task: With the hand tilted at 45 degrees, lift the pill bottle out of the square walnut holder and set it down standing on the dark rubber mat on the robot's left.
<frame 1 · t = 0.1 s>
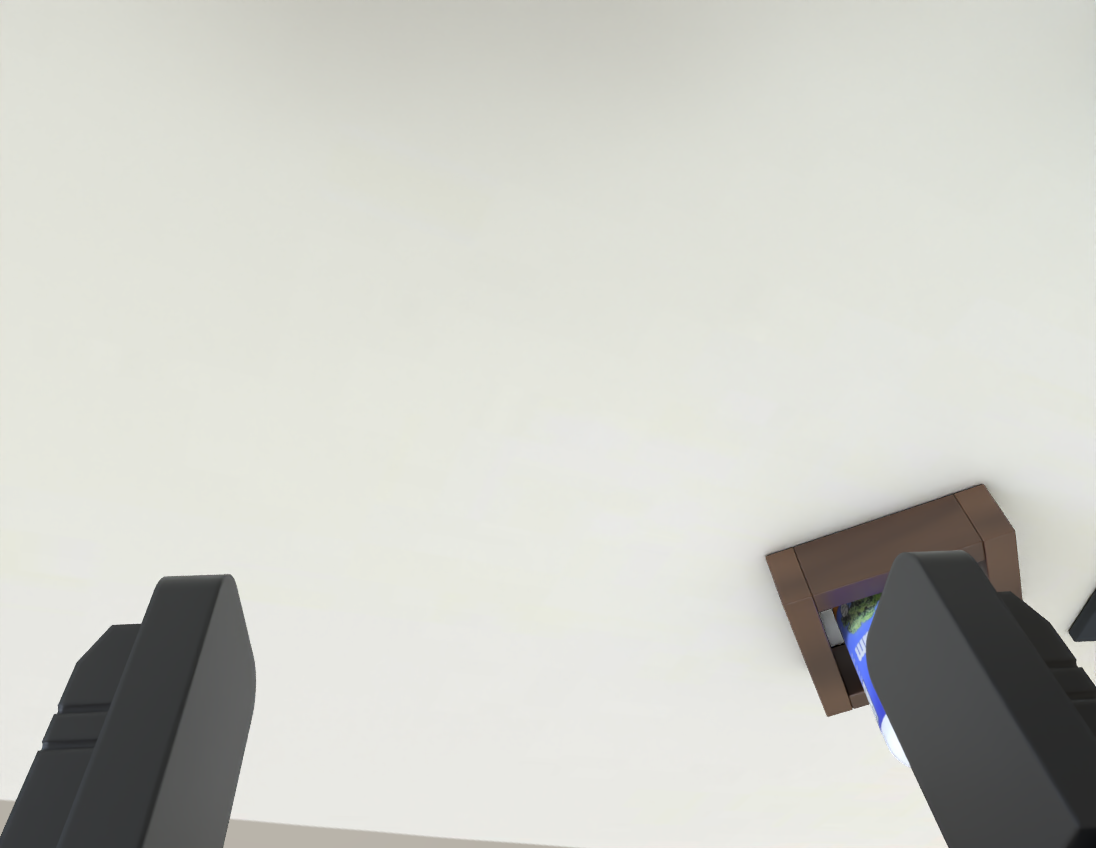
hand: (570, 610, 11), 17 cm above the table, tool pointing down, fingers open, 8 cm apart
pill bottle: (886, 581, 39), resting in walnut holder
walnut holder: (888, 584, 39), on the table
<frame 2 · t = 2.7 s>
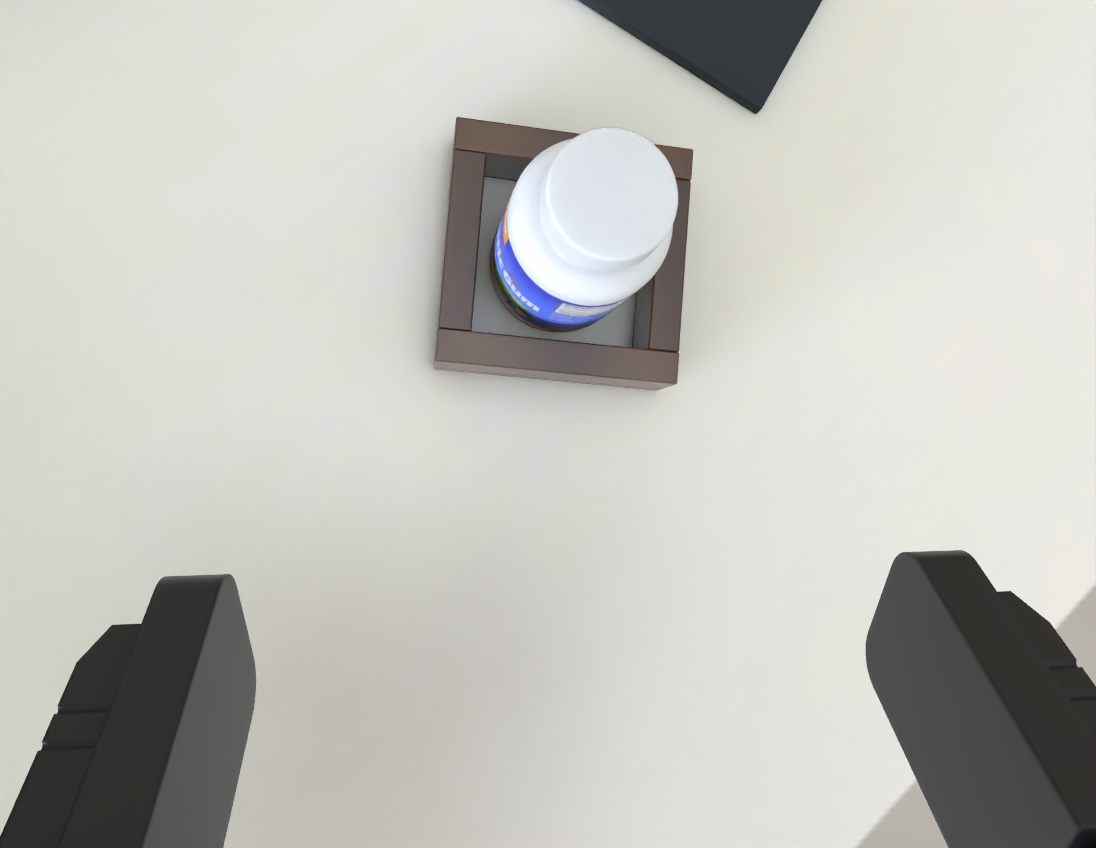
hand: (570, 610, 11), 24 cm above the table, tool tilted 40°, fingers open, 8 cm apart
pill bottle: (555, 268, 35), resting in walnut holder
walnut holder: (556, 267, 35), on the table
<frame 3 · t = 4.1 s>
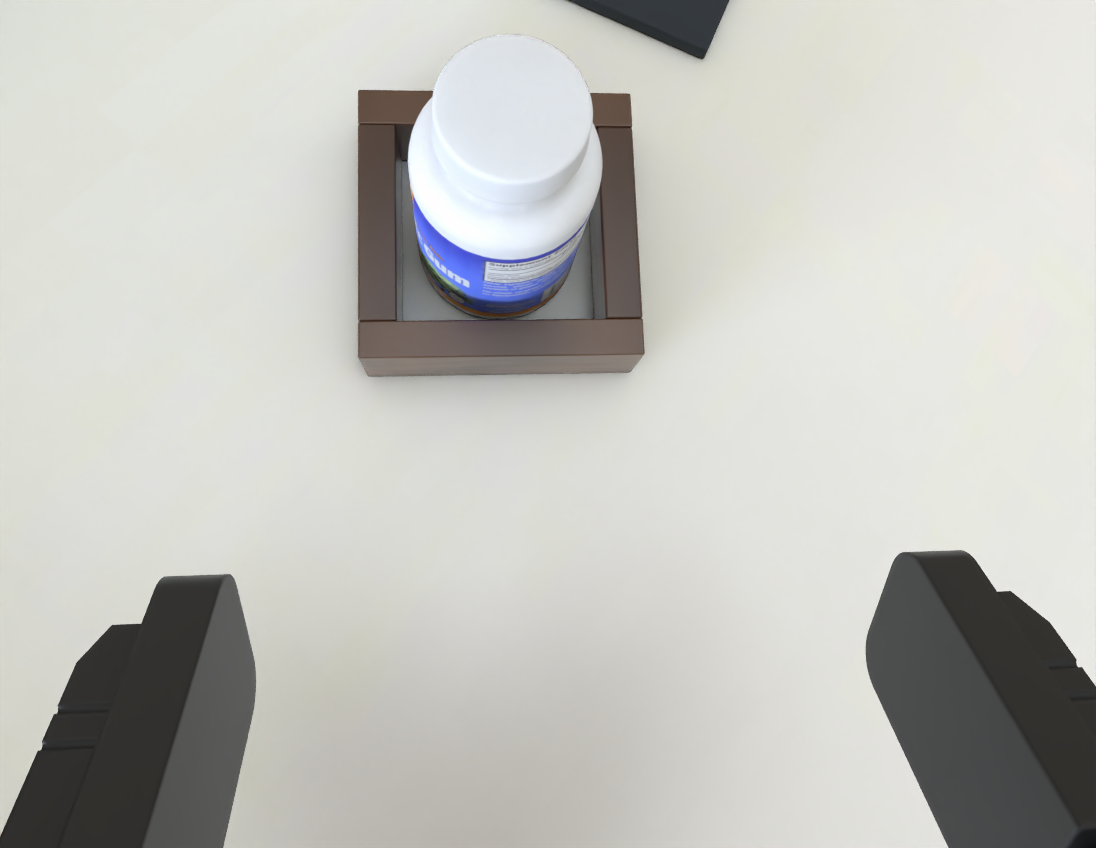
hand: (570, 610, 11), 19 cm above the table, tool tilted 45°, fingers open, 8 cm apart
pill bottle: (497, 251, 31), resting in walnut holder
walnut holder: (497, 249, 31), on the table
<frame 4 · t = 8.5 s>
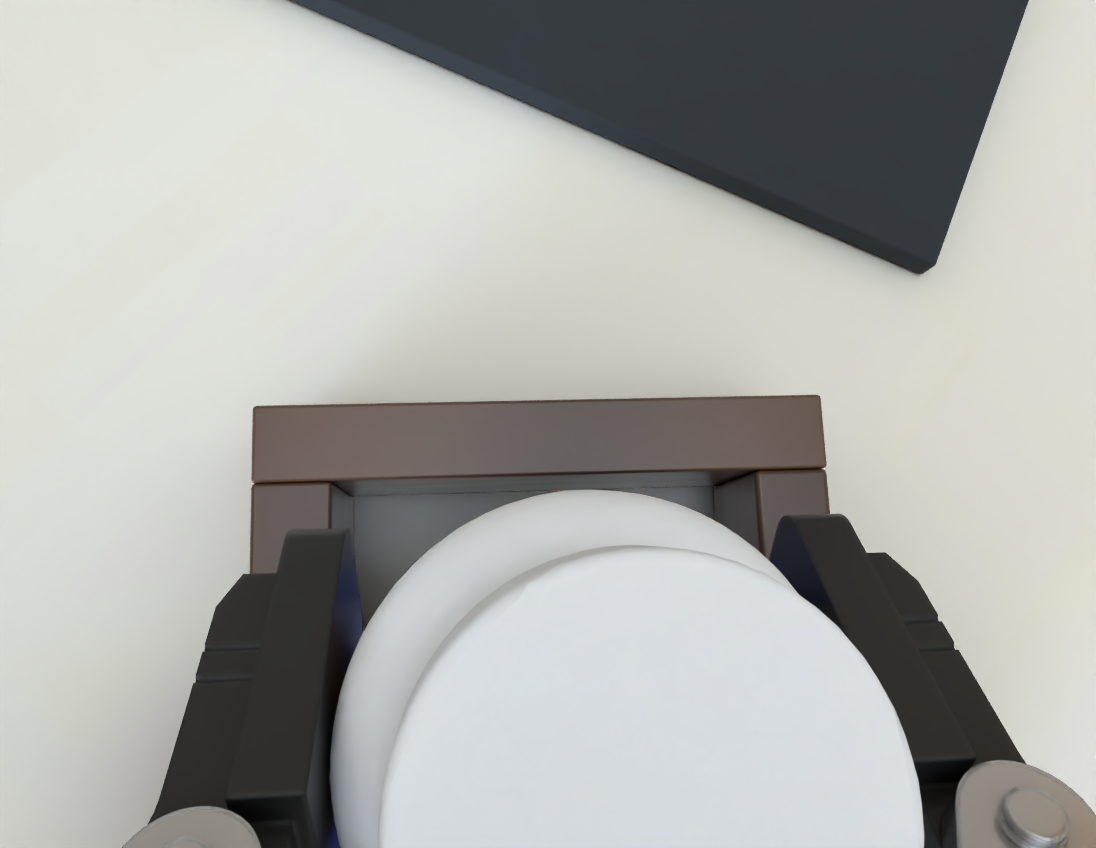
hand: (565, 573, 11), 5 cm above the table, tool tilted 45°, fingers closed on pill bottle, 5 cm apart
pill bottle: (541, 675, 16), resting in walnut holder, touching gripper
walnut holder: (542, 676, 16), on the table
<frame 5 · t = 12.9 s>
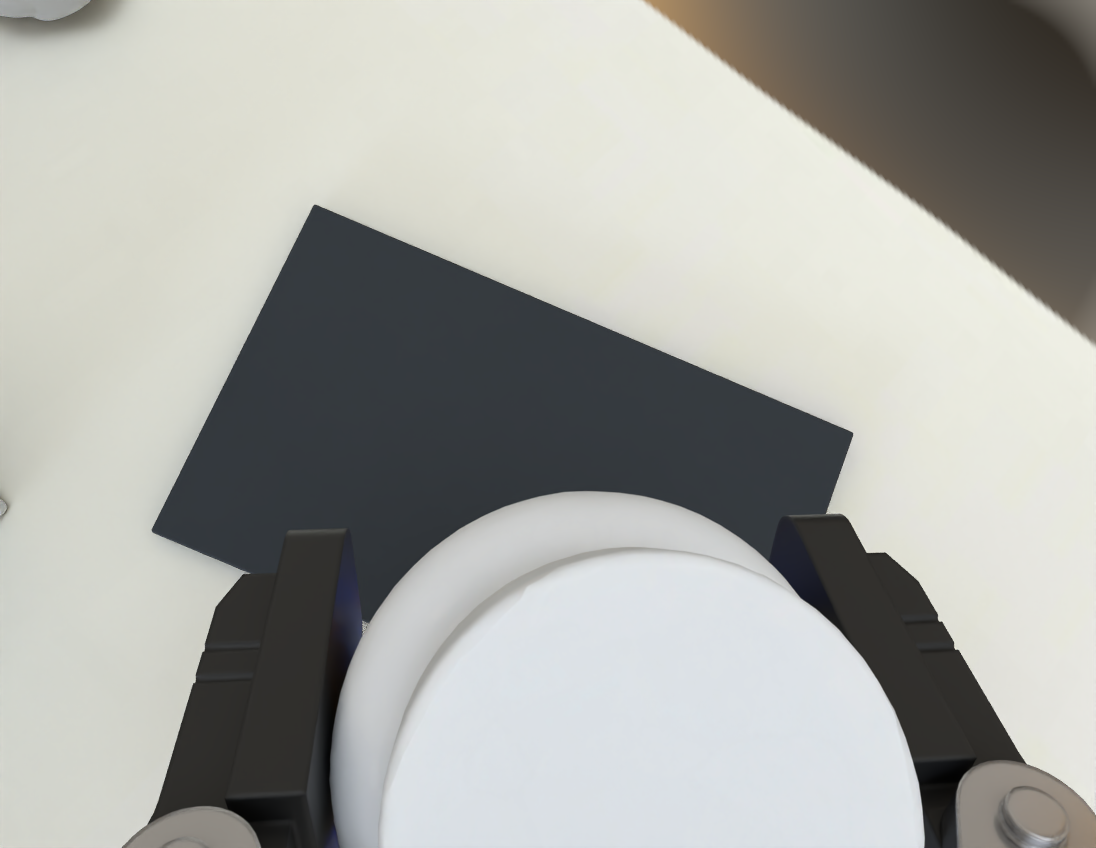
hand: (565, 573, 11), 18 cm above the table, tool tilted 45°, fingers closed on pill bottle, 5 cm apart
pill bottle: (541, 676, 16), point 13 cm above the table, touching gripper
rubber mat: (516, 481, 30), on the table
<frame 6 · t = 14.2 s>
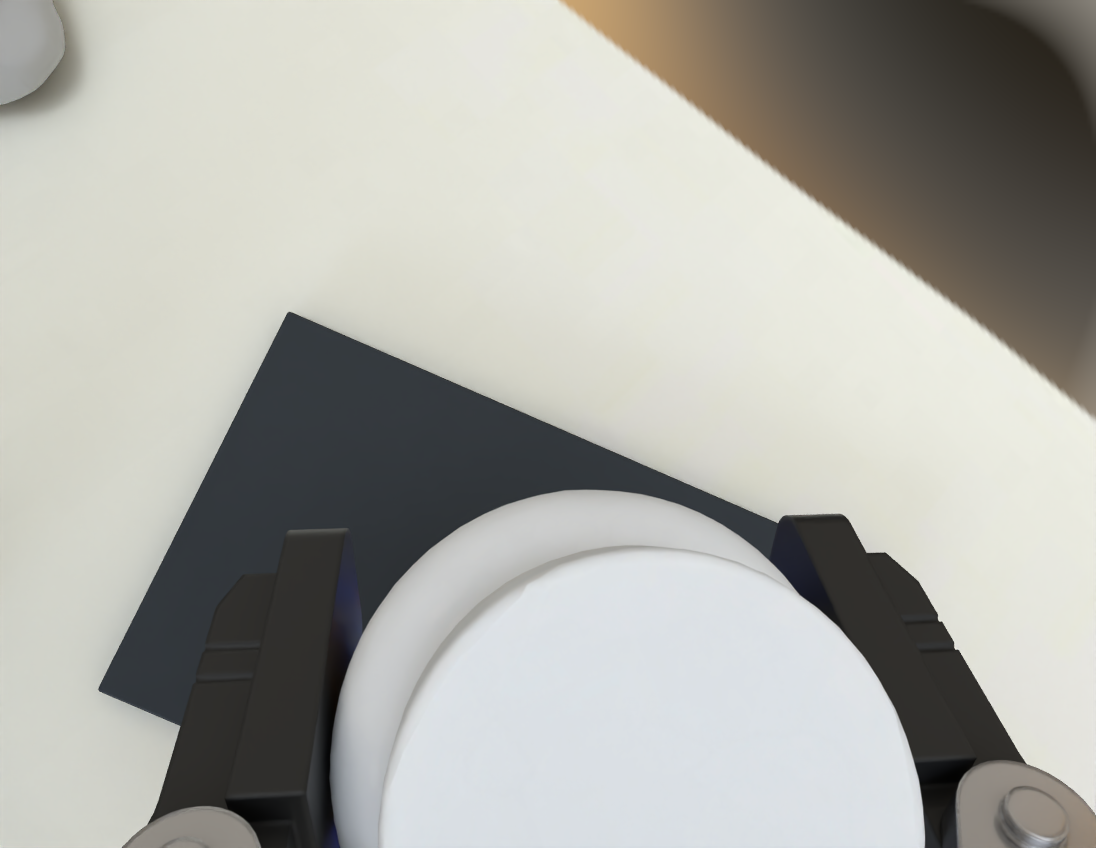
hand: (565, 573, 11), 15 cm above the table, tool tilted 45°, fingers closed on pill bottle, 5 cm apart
pill bottle: (541, 675, 16), point 11 cm above the table, touching gripper
rubber mat: (512, 627, 26), on the table
when the fingers open (5 cm above the table, at t = 17.4 s): pill bottle stays where it is, resting on rubber mat.
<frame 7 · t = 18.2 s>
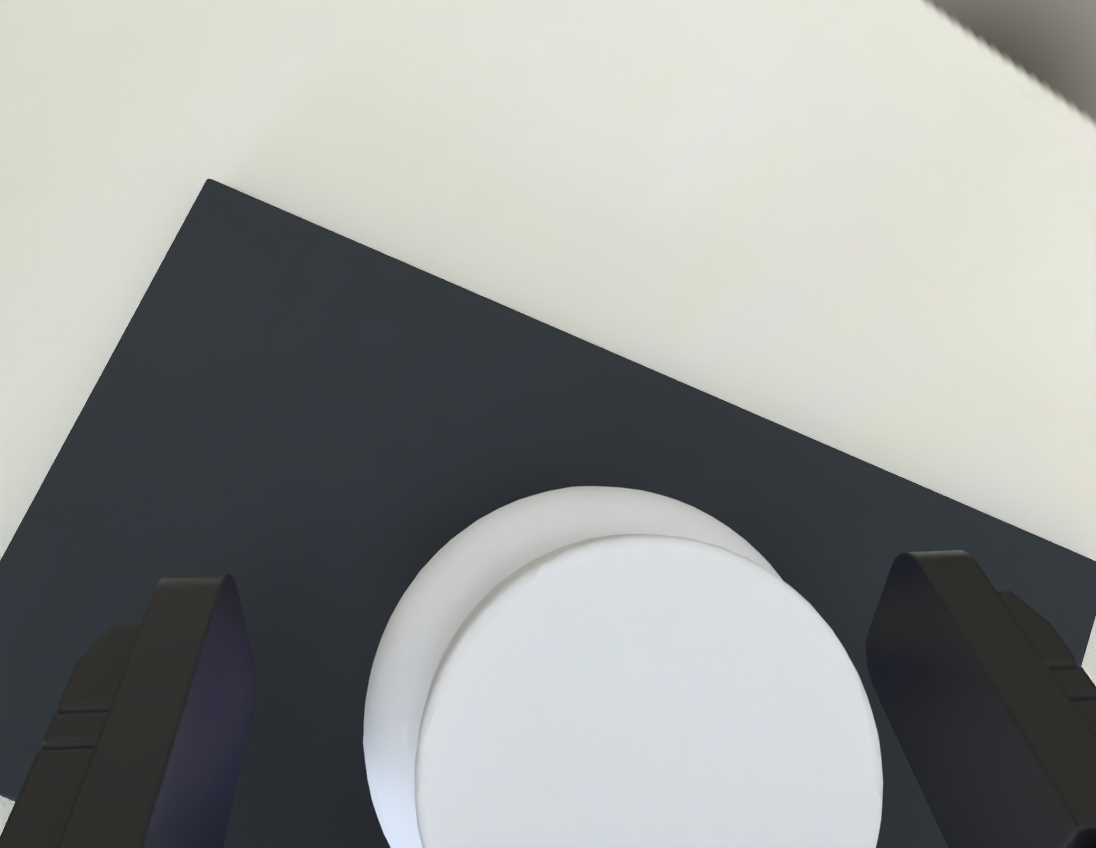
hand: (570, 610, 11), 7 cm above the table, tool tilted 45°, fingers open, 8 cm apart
pill bottle: (549, 661, 17), resting on rubber mat
rubber mat: (542, 650, 17), on the table
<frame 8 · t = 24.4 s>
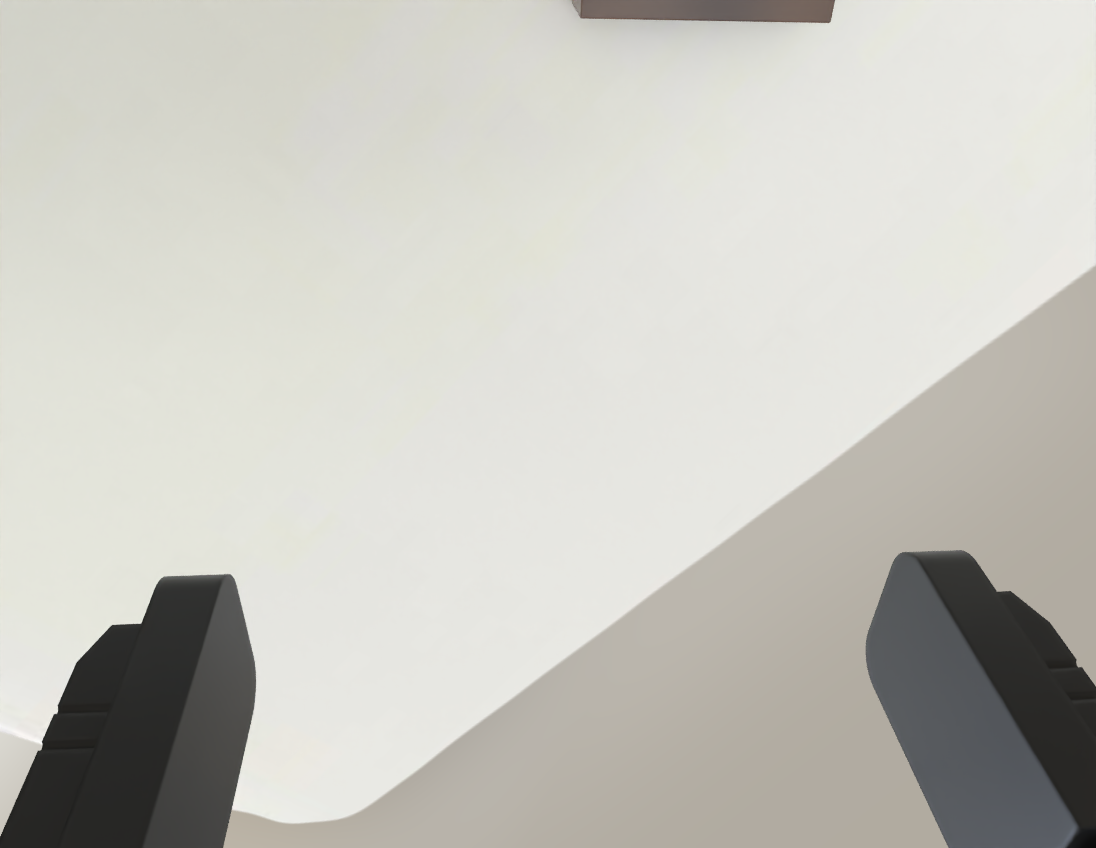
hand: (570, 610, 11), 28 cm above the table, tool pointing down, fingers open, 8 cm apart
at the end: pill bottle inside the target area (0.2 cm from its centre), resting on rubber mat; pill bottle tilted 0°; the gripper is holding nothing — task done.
